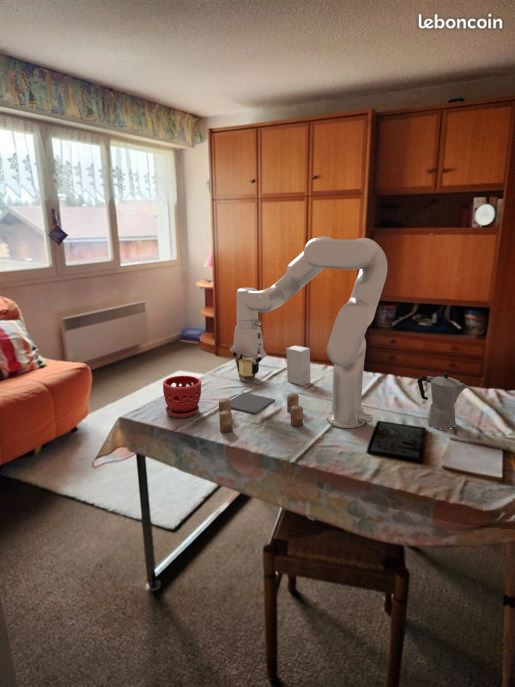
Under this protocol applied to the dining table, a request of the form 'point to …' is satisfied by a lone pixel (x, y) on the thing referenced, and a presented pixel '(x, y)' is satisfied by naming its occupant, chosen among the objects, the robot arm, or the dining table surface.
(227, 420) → the cylinder
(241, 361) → the tan faceted block
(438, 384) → the coffeepot
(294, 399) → the cylinder
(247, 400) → the mat
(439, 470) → the dining table surface
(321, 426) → the dining table surface
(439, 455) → the dining table surface
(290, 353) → the skincare box
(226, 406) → the cylinder
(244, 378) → the ceramic cup
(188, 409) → the plant pot
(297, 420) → the cylinder
